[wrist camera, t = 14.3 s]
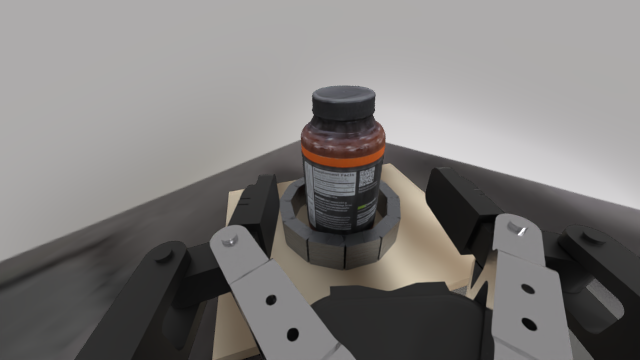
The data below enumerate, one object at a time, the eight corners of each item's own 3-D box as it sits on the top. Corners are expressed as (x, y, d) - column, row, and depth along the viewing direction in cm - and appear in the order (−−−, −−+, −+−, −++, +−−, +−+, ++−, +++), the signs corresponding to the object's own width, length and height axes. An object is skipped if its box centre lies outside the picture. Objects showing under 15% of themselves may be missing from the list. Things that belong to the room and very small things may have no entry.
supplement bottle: (327, 194, 24) (326, 79, 18) (382, 212, 21) (404, 85, 15) (294, 231, 20) (277, 96, 13) (358, 259, 17) (374, 109, 11)
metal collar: (365, 182, 26) (366, 163, 24) (420, 249, 18) (427, 226, 16) (277, 199, 24) (273, 179, 22) (294, 284, 15) (290, 261, 14)
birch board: (389, 170, 30) (390, 163, 29) (501, 274, 17) (507, 265, 16) (231, 199, 26) (229, 191, 25) (217, 367, 13) (212, 360, 12)
